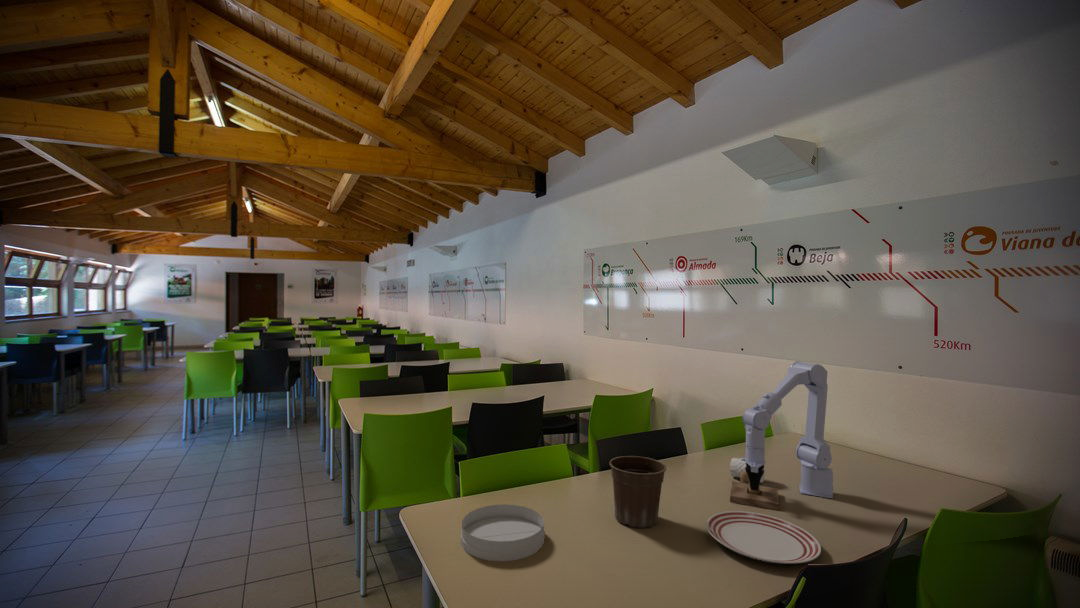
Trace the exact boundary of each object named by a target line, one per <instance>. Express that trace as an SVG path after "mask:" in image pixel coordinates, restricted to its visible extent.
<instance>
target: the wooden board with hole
mask: <svg viewBox="0 0 1080 608" xmlns="http://www.w3.org/2000/svg"><path fill="white" fill-rule="evenodd" d="M778 490H779V489H778V488H777V487H773V486H772V487H770V486H764V485H760V493H759V495H755V494H749V484H746V483H741V481H740V482H738V481H732V483H731V489H730V493H729V502H730V503H735V504H738V505H739V504H741V505H746V506H753V507H757V508H764V509H769V510H775V511H780V502H779V501H780V500H779V491H778Z"/></svg>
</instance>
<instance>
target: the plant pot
mask: <svg viewBox="0 0 1080 608" xmlns="http://www.w3.org/2000/svg"><path fill="white" fill-rule="evenodd" d="M609 466H610V470H611V478H612V484H613V502H614V516H615V520H617V522H619V523H620V524H622V525H625V526H626V525H629V526H630V527H631V528H638V529H639V528H640V529H645V528H646V529H647V528H651V527H653V526H655V525H656V524H657V523H658V518H659V509H660V502H661V501H660V500H661V492H662V484H663V483H664V477H665V472H666V471H667V465H666V464H665V463H663V462H661V461H659V460H657V459H654V458H650V457H645V456H639V455H638V456H637V455H626V456H625V455H624V456H616V457H613V458H611V460H610V461H609Z"/></svg>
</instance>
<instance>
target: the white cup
mask: <svg viewBox="0 0 1080 608" xmlns="http://www.w3.org/2000/svg"><path fill="white" fill-rule="evenodd" d="M729 466H730V467H729V470H730V471H729V472H730V476H731V477H733V478H736V479H739V480H741V472H746V470H745V466H746V462H745V461H742V457H732V458H731V461H730V464H729ZM746 467H747V466H746ZM763 470H764V471H765V467H764V468H763ZM764 479H765V473H764V474H763V475H762V477H761V480H760V484H762V483H763V482H764Z"/></svg>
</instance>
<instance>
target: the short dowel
mask: <svg viewBox="0 0 1080 608" xmlns="http://www.w3.org/2000/svg"><path fill="white" fill-rule="evenodd" d="M740 483H746V484H749V477H748V474H747V472H741V479H740Z"/></svg>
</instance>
